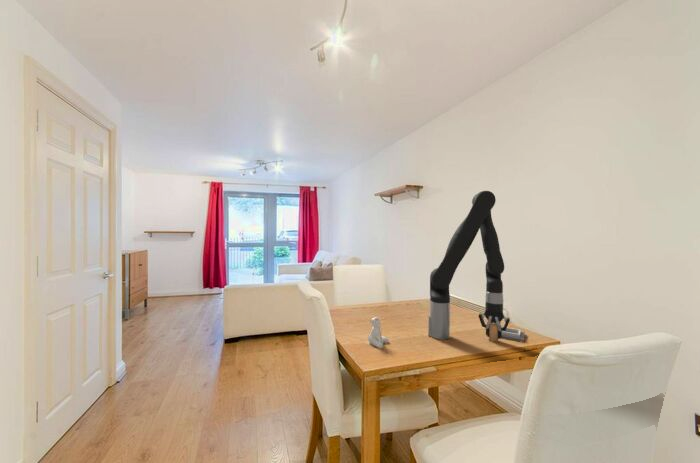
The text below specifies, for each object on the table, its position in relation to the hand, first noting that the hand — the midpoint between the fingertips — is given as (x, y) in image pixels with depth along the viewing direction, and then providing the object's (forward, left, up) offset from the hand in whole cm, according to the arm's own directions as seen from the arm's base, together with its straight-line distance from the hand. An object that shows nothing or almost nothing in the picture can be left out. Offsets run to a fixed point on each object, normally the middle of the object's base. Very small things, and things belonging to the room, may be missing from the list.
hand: (493, 337), depth 139 cm
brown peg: (0, 0, -2) cm, 2 cm away
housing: (+6, +12, -2) cm, 14 cm away
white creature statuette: (-44, -35, -2) cm, 56 cm away
